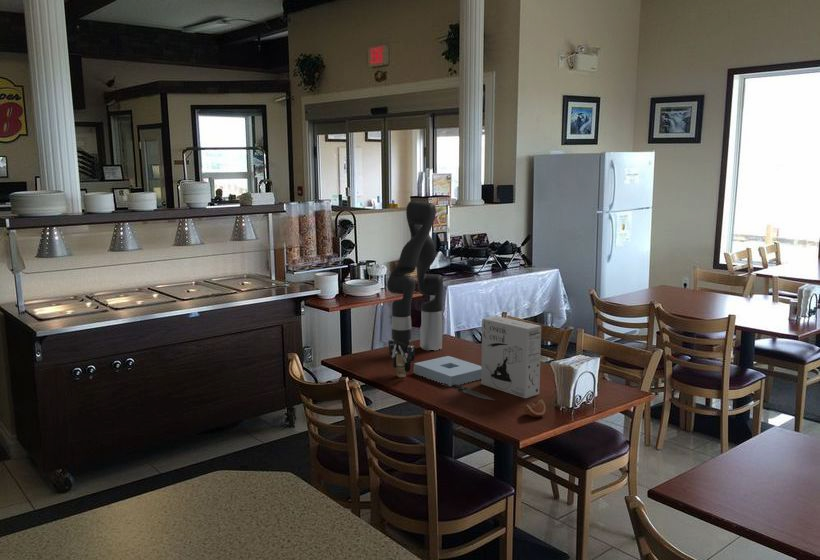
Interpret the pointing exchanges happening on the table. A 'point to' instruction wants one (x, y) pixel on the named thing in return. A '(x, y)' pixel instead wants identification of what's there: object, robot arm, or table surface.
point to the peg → (400, 365)
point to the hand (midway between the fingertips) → (401, 369)
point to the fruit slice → (535, 408)
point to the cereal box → (511, 356)
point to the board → (448, 370)
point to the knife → (469, 391)
